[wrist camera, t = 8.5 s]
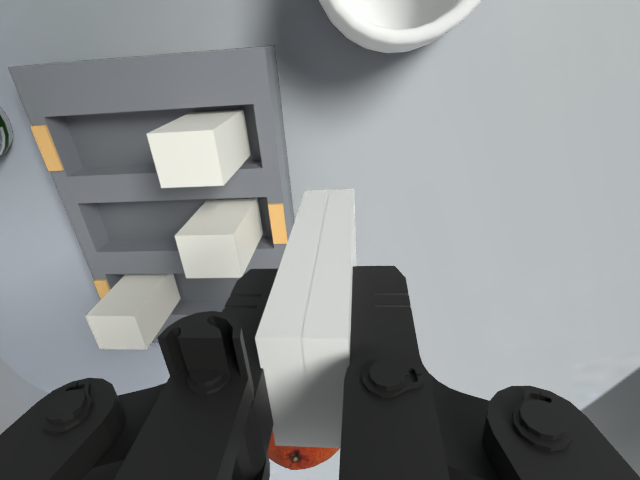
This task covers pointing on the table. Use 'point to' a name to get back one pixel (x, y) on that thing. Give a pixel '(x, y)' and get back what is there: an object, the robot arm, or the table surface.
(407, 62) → the table surface
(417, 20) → the mug
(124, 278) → the tab
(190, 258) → the white cuboid
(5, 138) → the beer can
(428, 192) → the table surface
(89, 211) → the switch board
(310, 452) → the fruit
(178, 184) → the white rectangular block
